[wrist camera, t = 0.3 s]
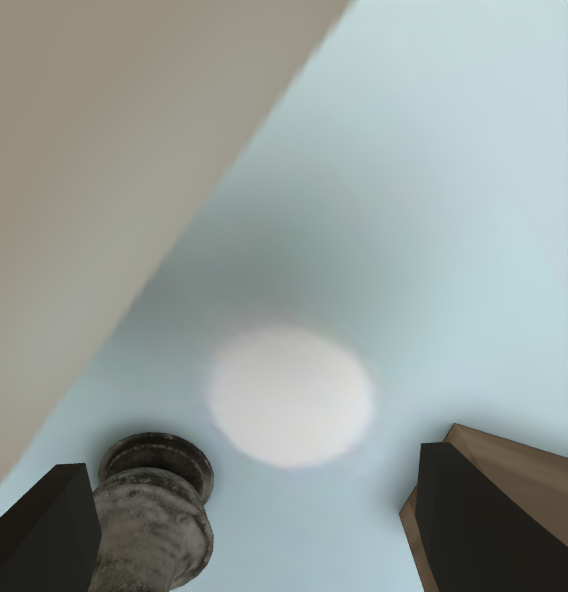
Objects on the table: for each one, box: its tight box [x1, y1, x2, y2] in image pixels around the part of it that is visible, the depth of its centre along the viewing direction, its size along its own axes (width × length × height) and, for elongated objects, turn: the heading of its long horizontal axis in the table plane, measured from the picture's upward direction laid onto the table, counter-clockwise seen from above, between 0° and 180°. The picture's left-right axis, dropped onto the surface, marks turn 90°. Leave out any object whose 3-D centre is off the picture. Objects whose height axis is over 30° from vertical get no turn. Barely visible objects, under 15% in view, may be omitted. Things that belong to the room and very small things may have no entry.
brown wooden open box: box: [399, 423, 568, 592], centre depth 21 cm, size 6×8×7 cm
